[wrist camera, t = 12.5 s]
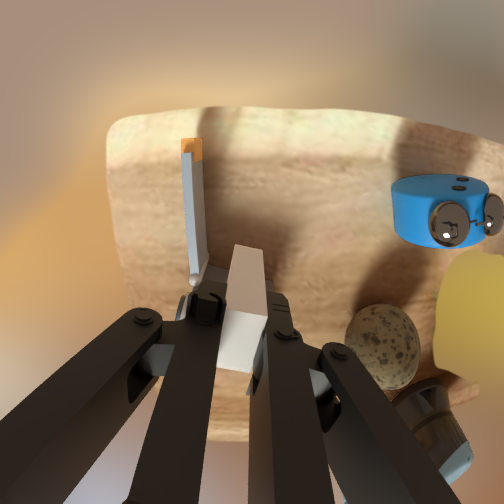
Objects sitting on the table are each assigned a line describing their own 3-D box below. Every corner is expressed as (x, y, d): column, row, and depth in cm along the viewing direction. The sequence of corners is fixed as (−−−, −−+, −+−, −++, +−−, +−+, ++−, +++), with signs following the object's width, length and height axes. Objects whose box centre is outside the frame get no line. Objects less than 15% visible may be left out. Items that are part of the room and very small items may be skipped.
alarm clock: (378, 223, 38) (435, 267, 24) (374, 179, 36) (435, 204, 22) (450, 208, 37) (515, 241, 23) (448, 168, 35) (518, 189, 21)
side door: (192, 139, 34) (177, 138, 27) (203, 138, 34) (191, 137, 27) (199, 260, 40) (189, 286, 33) (209, 260, 40) (201, 286, 33)
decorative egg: (348, 284, 42) (386, 348, 28) (406, 293, 42) (453, 349, 28) (327, 342, 46) (349, 412, 32) (382, 346, 46) (415, 408, 32)
